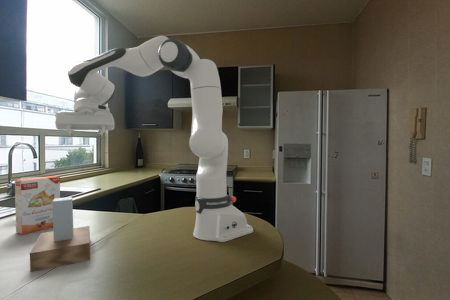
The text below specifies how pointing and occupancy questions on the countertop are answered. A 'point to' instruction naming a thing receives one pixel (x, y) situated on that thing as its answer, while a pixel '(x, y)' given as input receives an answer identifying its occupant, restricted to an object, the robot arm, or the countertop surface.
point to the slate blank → (62, 218)
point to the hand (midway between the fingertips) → (86, 135)
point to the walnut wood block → (60, 250)
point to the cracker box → (35, 203)
